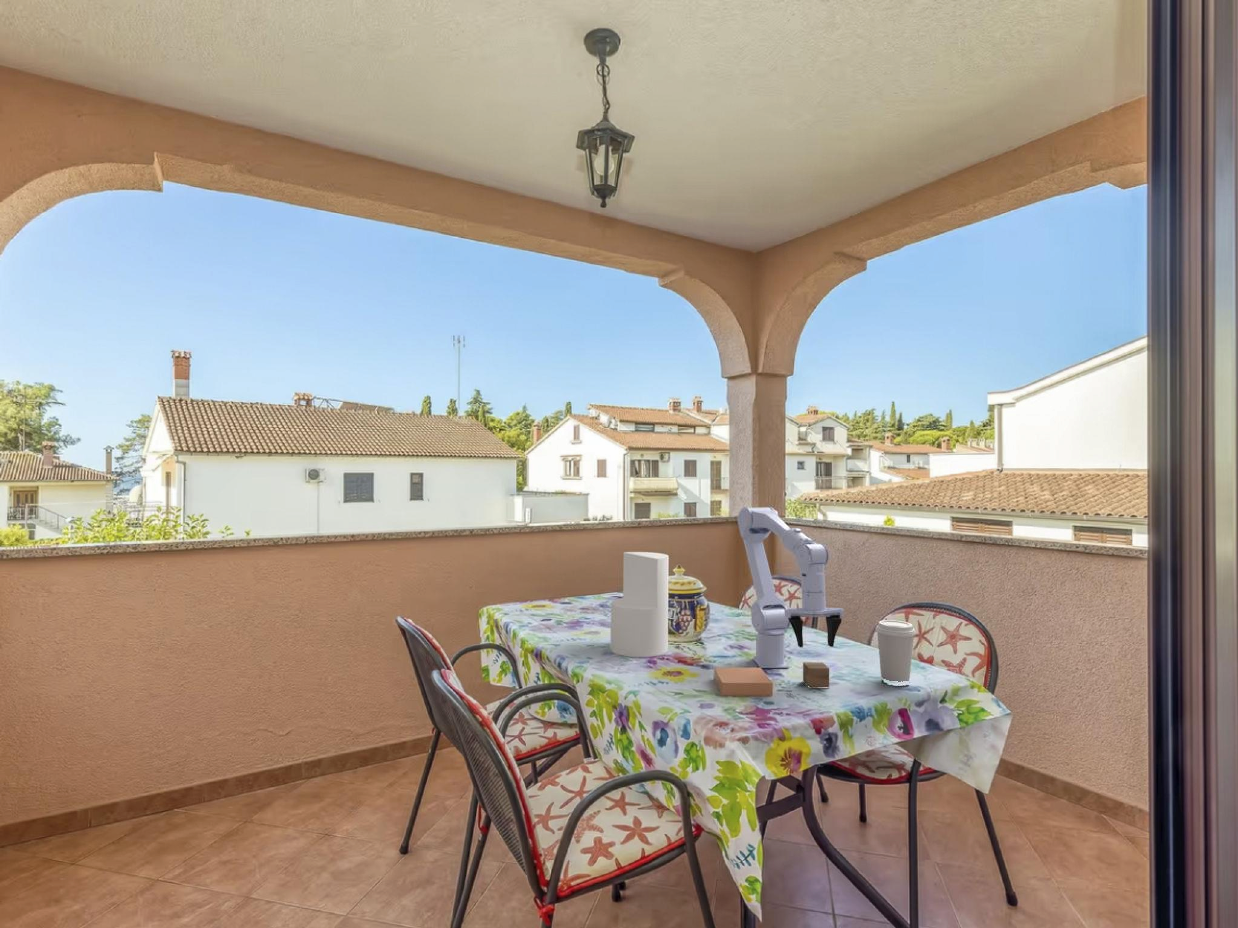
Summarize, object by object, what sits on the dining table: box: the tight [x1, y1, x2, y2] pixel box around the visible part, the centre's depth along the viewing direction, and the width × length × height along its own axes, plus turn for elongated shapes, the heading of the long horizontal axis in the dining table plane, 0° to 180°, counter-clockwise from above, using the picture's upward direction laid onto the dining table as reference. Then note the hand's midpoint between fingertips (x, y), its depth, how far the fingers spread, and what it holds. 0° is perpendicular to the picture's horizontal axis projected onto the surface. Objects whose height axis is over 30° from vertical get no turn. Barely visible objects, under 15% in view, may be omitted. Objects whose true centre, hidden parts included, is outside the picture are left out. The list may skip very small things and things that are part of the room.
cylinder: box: [609, 551, 670, 658], centre depth 193 cm, size 17×17×28 cm
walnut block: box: [802, 661, 830, 688], centre depth 161 cm, size 5×5×5 cm
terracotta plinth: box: [713, 666, 774, 697], centre depth 159 cm, size 12×12×3 cm
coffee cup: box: [874, 619, 917, 682], centre depth 164 cm, size 10×10×15 cm
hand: (815, 646), depth 161 cm, fingers open, 7 cm apart
